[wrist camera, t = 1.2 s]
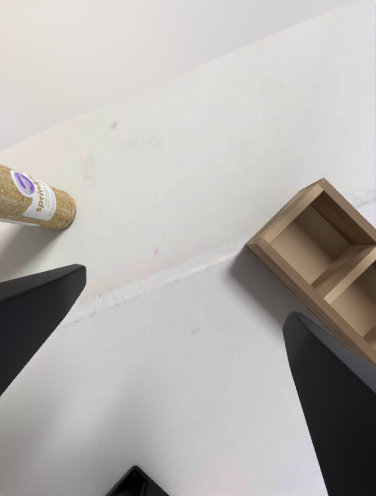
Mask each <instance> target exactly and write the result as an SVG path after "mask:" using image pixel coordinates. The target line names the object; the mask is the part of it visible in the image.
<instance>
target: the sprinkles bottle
mask: <svg viewBox="0 0 376 496" xmlns="http://www.w3.org/2000/svg"><path fill="white" fill-rule="evenodd" d="M75 208H76V206H75V203H74V200H73V198H72V197H71V196H70V195H69V194H67V193H66V192H64V191H62V190H58V189H55V188H53V187H51V186H48V185H47V184H45V183H43V182H41V181H39V180H37V179H35V178H32V177H30V176H28V175H26V174H23V173H21V172H19V171H17V170H13V169H11V168H9V167H6V166H4V165H2V164H0V222H7V223H14V224H21V225H28V226H40V227H46V228H49V229H53V230H54V229H55V230H59V229H63V228H65V227H67V226H68V225H69V224H70V223H71V222H72V220H73V219H74V216H75V214H76V209H75Z"/></svg>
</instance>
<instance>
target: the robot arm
mask: <svg viewBox="0 0 376 496" xmlns="http://www.w3.org/2000/svg"><path fill="white" fill-rule="evenodd" d="M85 285H86V267H85V266H83V265H79V264H73V265H69V266H65V267H61V268H57V269H53V270H49V271H45V272H41V273H37V274H33V275H29V276H25V277H21V278H17V279H13V280H9V281H5V282H1V283H0V396H1V395H2V394H3V392H4V391H5V390H6V389H7V387H8V386H9V385H10V384H11V383H12V381H13V380H14V379H15V378H16V376H17V375H18V374H19V373H20V372H21V370H22V369H23V368H24V367H25V365H26V364H27V363H28V362H29V361H30V359H31V358H32V357H33V356H34V354H35V353H36V352H37V351H38V350H39V348H40V347H41V346H42V345H43V343H44V342H45V341H46V340H47V339H48V337H49V336H50V335H51V334H52V332H53V331H54V330H55V329H56V327H57V326H58V325H59V324H60V323H61V321H62V320H63V319H64V318H65V316H66V315H67V313H68V312H69V310H70V309H71V307H72V306H73V304H74V303H75V301H76V300H77V298H78V297H79V295H80V294H81V292H82V291H83V289H84V288H85ZM283 336H284V341H285V346H286V351H287V356H288V361H289V366H290V369H291V373H292V376H293V380H294V383H295V386H296V390H297V393H298V396H299V400H300V403H301V406H302V409H303V413H304V416H305V419H306V423H307V426H308V429H309V433H310V436H311V439H312V443H313V446H314V449H315V453H316V456H317V459H318V462H319V466H320V469H321V472H322V476H323V479H324V482H325V486H326V489H327V492H328V496H376V369H374V368H373V367H372V366H370V365H369V364H368V363H366V362H365V361H364V360H362V359H361V358H360V357H358V356H357V355H356V354H355V353H353V352H352V351H351V350H349V349H348V348H347V347H345V346H344V345H343V344H341V343H340V342H339V341H337V340H336V339H335V338H333V337H332V336H331V335H329V334H328V333H327V332H325V331H324V330H323V329H321V328H320V327H319V326H317V325H316V324H315V323H314V322H312V321H311V320H310V319H308V318H307V317H306V316H304V315H303V314H301V313H297V312H290V313H289V315H288V317H287V319H286V321H285V323H284V325H283ZM134 472H136V473H134ZM106 496H169V495H168V494H167V493H166V492H165V491H163V490H162V489H161V488H160V487H159V486H158V485H157V484H156V483H155V482H154V481H153V480H152V479H151V478H150V477H149V476H147V475H146V474H145V473H144V472H143V471H142V470H141V469H140V468H139V467H138V466H133V467H132V468H131V469H130V470H129V471H128V473H127V474H126V475H125V476H124V477H123V478H122V479H121V480H120V481H119V482H118V483H117V485H116V486H115V487H114V488H113V489H112V490H111V491H110V492H109V493H108V494H107V495H106Z"/></svg>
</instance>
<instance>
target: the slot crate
mask: <svg viewBox="0 0 376 496" xmlns="http://www.w3.org/2000/svg"><path fill="white" fill-rule="evenodd" d="M245 245H246V246H247V247H248V248H249V249H250V250H251V251H252V252H253V253H254V254H255V255H256V256H257V257H258V258H259V259H260V260H261V261H262V262H263V263H264V264H265V265H266V266H267V267H268V268H269V269H270V270H271V271H272V272H273V273H274V274H275V275H276V276H277V277H278V278H279V279H280V280H281V281H282V282H283V283H284V284H285V285H286V286H287V287H288V288H289V289H290V290H291V291H292V292H293V293H294V294H295V296H296V297H297V298H298V299H299V300H300V301H301V302H302V303H303V304H304V305H305V306H306V307H307V308H308V309H309V310H310V311H311V312H312V313H313V314H314V315H315V316H316V317H317V318H318V319H319V320H320V321H321V322H322V323H323V324H324V325H325V326H326V327H327V328H328V329H329V330H330V331H331V332H332V333H333V334H334V335H335V336H336V337H337V338H338V339H339V340H340V341H341V342H342V343H343V344H344V345H345V346H346V347H347V348H348V349H349V350H351V351H352V352H353V353H355V354H356V355H357V356H358V357H360V358H361V359H362V360H364V361H365V362H366V363H368V364H369V365H370V366H372V367H373V368H374V369H376V229H375V228H374V227H373V226H372V225H371V224H370V223H369V222H368V221H367V220H366V219H365V218H364V217H363V216H362V215H361V214H360V213H359V212H358V211H357V210H356V209H355V208H354V207H353V206H352V205H351V204H350V203H349V202H348V201H347V200H346V199H345V198H344V197H343V196H342V195H341V194H340V193H339V192H338V191H337V190H336V189H335V188H334V187H333V186H332V185H331V184H330V183H329V182H328V181H327V180H326V179H325V178H322V179H320V180H318V181H317V182H315V183H313V184H311V185H309V186H307V187H305V188H304V189H302V190H300V191H299V192H298V193H297V194H296V195H295V196H294V197H293V198H292V199H291V200H290V201H289V202H288V203H287V204H286V205H285V206H284V207H283V208H282V209H281V210H280V211H279V212H278V213H277V214H276V215H275V216H274V217H273V218H272V219H271V220H270V221H269V222H268V223H267V224H266V225H264V226H263V227H262V228H261V229H260V230H259V231H258V232H257V233H256V234H255V235H254V236H253V237H252V238H251V239H250V240H249V241H248V242H247V243H246V244H245Z"/></svg>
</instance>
